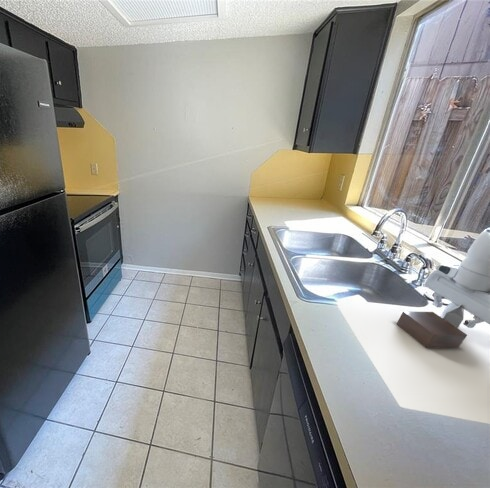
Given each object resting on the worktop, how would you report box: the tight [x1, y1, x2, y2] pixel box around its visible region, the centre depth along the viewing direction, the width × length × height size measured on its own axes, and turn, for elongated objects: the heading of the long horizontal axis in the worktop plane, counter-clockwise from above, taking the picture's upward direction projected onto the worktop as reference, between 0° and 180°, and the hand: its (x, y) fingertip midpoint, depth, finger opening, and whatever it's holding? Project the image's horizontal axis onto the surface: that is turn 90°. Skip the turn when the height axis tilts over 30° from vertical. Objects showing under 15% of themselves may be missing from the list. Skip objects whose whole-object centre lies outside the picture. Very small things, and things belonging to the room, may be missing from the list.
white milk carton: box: [439, 302, 465, 329], centre depth 81 cm, size 4×7×10 cm, turn 132°
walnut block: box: [396, 311, 468, 349], centre depth 78 cm, size 10×10×5 cm
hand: (451, 315), depth 82 cm, fingers open, 8 cm apart
